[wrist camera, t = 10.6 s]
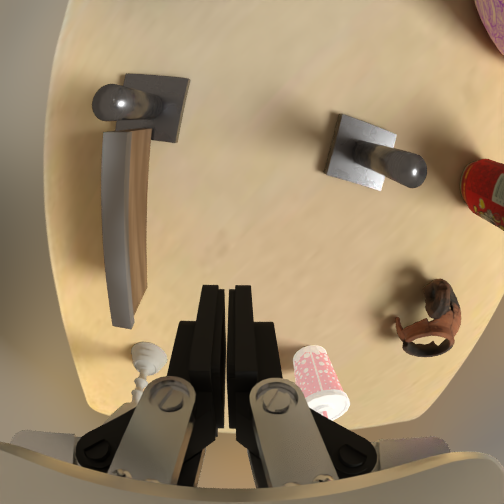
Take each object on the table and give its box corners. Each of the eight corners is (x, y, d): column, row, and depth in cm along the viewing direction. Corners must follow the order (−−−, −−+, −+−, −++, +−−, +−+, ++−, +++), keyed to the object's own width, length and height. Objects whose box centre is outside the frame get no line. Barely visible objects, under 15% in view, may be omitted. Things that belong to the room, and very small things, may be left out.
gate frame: (129, 74, 22) (78, 57, 13) (392, 133, 25) (453, 146, 16) (118, 134, 24) (64, 146, 15) (376, 188, 28) (430, 221, 19)
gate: (155, 128, 23) (127, 132, 17) (149, 287, 30) (131, 329, 23) (136, 128, 23) (103, 132, 17) (134, 285, 30) (112, 325, 23)
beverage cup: (288, 375, 39) (304, 462, 26) (285, 345, 36) (303, 440, 23) (331, 367, 38) (358, 450, 26) (332, 336, 36) (365, 426, 23)
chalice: (143, 327, 34) (101, 455, 18) (185, 357, 36) (166, 483, 20) (115, 353, 36) (75, 464, 20) (154, 379, 38) (130, 490, 22)
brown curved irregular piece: (452, 309, 37) (455, 358, 31) (395, 312, 41) (393, 361, 36) (464, 255, 29) (475, 313, 24) (394, 259, 33) (394, 317, 28)
